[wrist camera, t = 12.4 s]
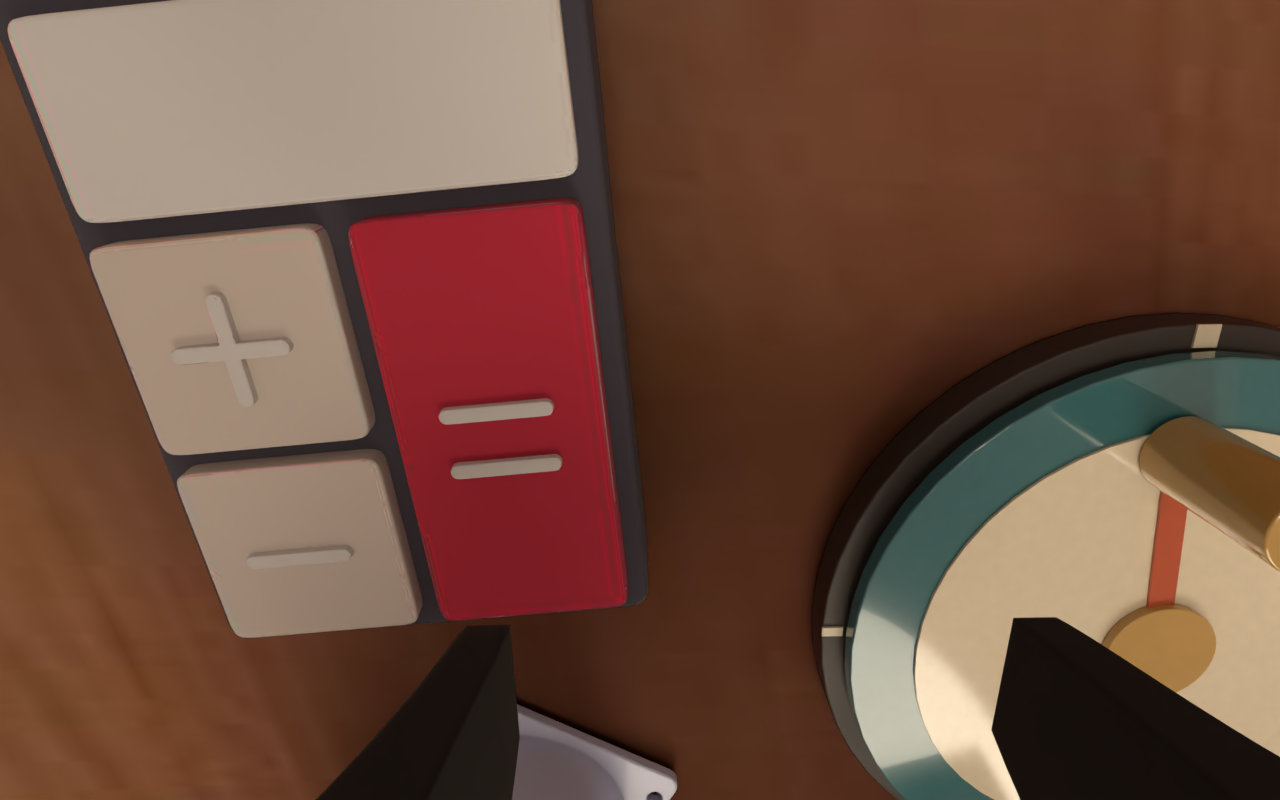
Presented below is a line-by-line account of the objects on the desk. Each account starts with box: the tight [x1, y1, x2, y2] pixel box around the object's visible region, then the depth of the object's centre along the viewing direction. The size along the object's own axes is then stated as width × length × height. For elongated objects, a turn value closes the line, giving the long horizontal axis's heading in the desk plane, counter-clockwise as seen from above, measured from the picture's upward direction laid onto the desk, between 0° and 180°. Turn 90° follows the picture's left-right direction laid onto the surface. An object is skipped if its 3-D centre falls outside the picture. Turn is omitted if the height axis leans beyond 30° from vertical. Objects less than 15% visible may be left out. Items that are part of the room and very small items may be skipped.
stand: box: [812, 313, 1280, 800], centre depth 22 cm, size 18×18×1 cm
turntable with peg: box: [845, 351, 1280, 800], centre depth 19 cm, size 17×17×5 cm
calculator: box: [0, 0, 649, 638], centre depth 18 cm, size 11×4×15 cm
